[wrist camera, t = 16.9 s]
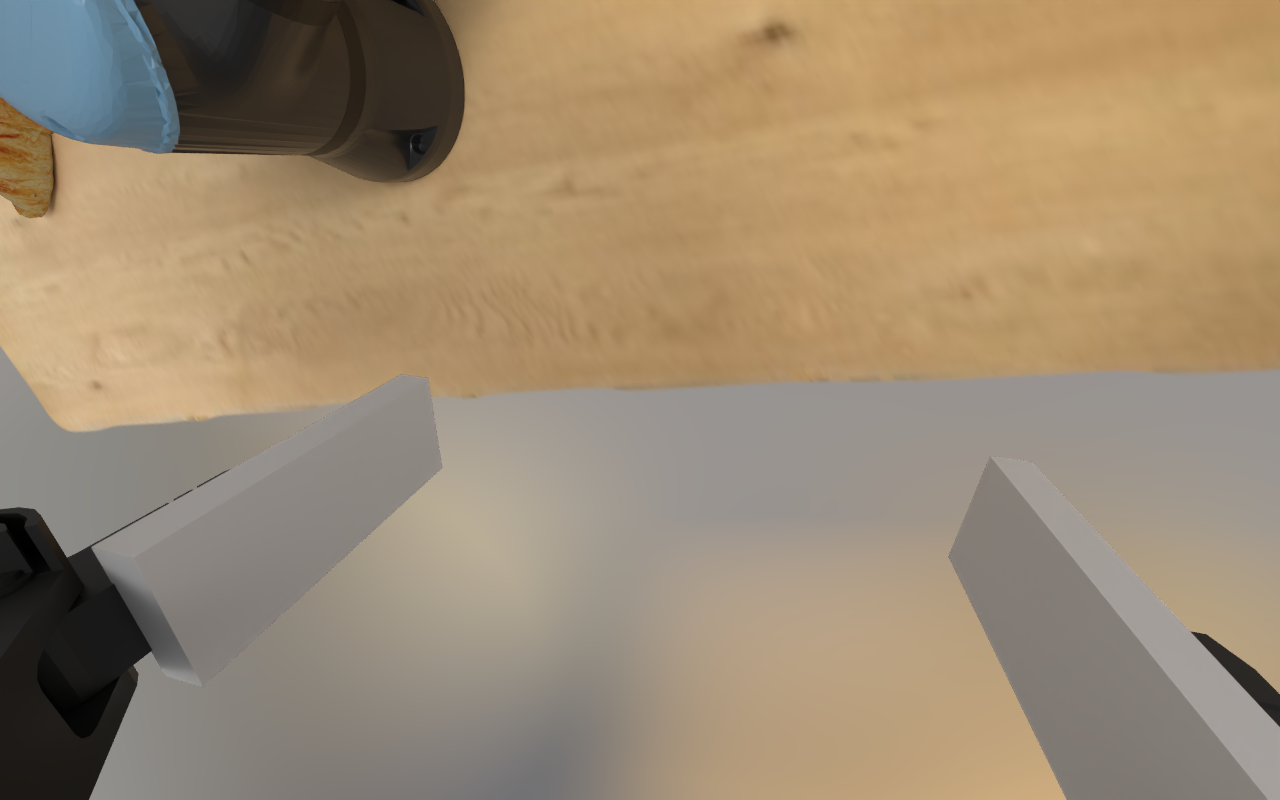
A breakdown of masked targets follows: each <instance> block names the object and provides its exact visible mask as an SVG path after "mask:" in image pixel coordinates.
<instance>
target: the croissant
mask: <svg viewBox="0 0 1280 800" xmlns="http://www.w3.org/2000/svg"><path fill="white" fill-rule="evenodd" d="M51 133H52V132H51V130H49V129H47V128H45V127H43V126H41V125H39V124H38V123H36V122H34V121H33V120H31V119H30V118H28V117H27V116H25V115H24V114H22V113H21V112H19V111H18V110H16V109H15V108H14V107H12V106H11V105H10V104H9V103H7V102H6V101H5V100H4V99H3V98H1V97H0V195H2V196H3V197H4V198H6V199H8V200H10V201H11V202H12V203H13V205H14V207H15V209H16V210H17V212H18V213H19V214H20V215H23V216H25V217H27V218H35V217H42V216H43V215H44V214H45V213H46V212H47V210H48V205H49V204H50V197H51V192H52V190H53V180H54V178H53V175H52V173H53V157H52V143H51V135H50V134H51Z"/></svg>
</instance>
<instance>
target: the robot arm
mask: <svg viewBox="0 0 1280 800" xmlns="http://www.w3.org/2000/svg"><path fill="white" fill-rule="evenodd" d="M0 97H1V98H3V99H4V100H5V101H6V102H7V103H9V104H10V105H11V106H12V107H14V108H15V109H16V110H18V111H19V112H21V113H22V114H24V115H25V116H27V117H28V118H30V119H31V120H33V121H34V122H36V123H38V124H39V125H41V126H43V127H45V128H47V129H49V130H51V131H53V132H55V133H57V134H60V135H62V136H65V137H67V138H70V139H73V140H77V141H81V142H85V143H90V144H98V145H109V146H119V147H129V148H139V149H141V150H144V151H147V152H153V153H156V154H162V153H212V154H258V155H305V156H310V157H313V158H315V159H317V160H319V161H322V162H324V163H326V164H328V165H331V166H333V167H335V168H337V169H340V170H342V171H344V172H346V173H348V174H351V175H353V176H356V177H358V178H362V179H365V180H370V181H375V182H405V181H411V180H415V179H418V178H420V177H423V176H425V175H426V174H428V173H430V172H431V171H433V170H434V169H435V168H436V167H437V166H438V165H439V164H440V163H441V162H442V161H443V160H444V159H445V157H446V156H447V155H448V153H449V151H450V150H451V148H452V146H453V144H454V142H455V140H456V137H457V135H458V132H459V128H460V125H461V120H462V115H463V106H464V82H463V73H462V67H461V62H460V58H459V54H458V50H457V47H456V44H455V41H454V38H453V36H452V33H451V31H450V29H449V27H448V25H447V22H446V20H445V19H444V17H443V15H442V13H441V12H440V10H439V9H438V7H437V5H436V4H435V3H434V1H433V0H0ZM441 468H442V463H441V457H440V451H439V445H438V438H437V431H436V425H435V419H434V413H433V406H432V400H431V394H430V388H429V382H428V378H425V377H418V376H410V375H403V374H401V375H400V376H398V377H396V378H394V379H392V380H391V381H389V382H387V383H385V384H383V385H382V386H380V387H378V388H376V389H374V390H373V391H371V392H369V393H367V394H365V395H364V396H362V397H360V398H358V399H356V400H355V401H353V402H351V403H349V404H347V405H346V406H344V407H342V408H340V409H338V410H337V411H335V412H333V413H332V414H329V415H328V416H326V417H324V418H323V419H320V420H319V421H317V422H315V423H313V424H312V425H310V426H308V427H306V428H304V429H303V430H301V431H299V432H297V433H295V434H293V435H292V436H290V437H288V438H286V439H285V440H283V441H281V442H279V443H277V444H275V445H274V446H272V447H270V448H269V449H267V450H265V451H263V452H261V453H259V454H258V455H256V456H254V457H252V458H250V459H249V460H247V461H245V462H243V463H241V464H239V465H238V466H236V467H234V468H232V469H230V470H227V471H225V472H223V473H221V474H219V475H217V476H215V477H214V478H212V479H210V480H208V481H206V482H204V483H203V484H201V485H199V486H197V488H196V489H194V490H190V491H188V492H186V493H185V494H183V495H181V496H179V497H177V498H176V499H174V501H173V502H171V503H167V504H165V505H163V506H161V507H159V508H157V509H156V510H154V511H152V512H150V513H148V514H147V515H145V516H143V517H141V518H139V519H138V520H136V521H134V522H132V523H130V524H129V525H127V526H125V527H123V528H121V529H120V530H118V531H116V532H114V533H112V534H110V535H109V536H107V537H105V538H103V539H102V540H100V541H98V542H96V543H94V544H92V545H91V546H89V547H87V548H85V549H83V550H82V551H80V552H78V553H76V554H74V555H72V556H70V557H68V558H67V557H66V555H65V554H64V552H63V551H62V549H61V547H60V546H59V544H58V543H57V541H56V539H55V538H54V536H53V535H52V533H51V531H50V530H49V528H48V526H47V525H46V523H45V521H44V520H43V518H42V517H41V515H40V514H39V513H38V512H37V511H36V510H35V509H28V508H19V507H18V508H10V509H0V800H89V798H90V796H91V794H92V791H93V789H94V786H95V784H96V782H97V779H98V777H99V774H100V772H101V770H102V767H103V765H104V763H105V760H106V758H107V755H108V753H109V751H110V748H111V746H112V743H113V741H114V739H115V736H116V734H117V732H118V729H119V727H120V724H121V722H122V720H123V717H124V715H125V713H126V710H127V708H128V705H129V703H130V701H131V698H132V696H133V693H134V691H135V689H136V686H137V681H138V672H137V671H136V669H135V668H134V666H133V665H134V664H135V663H137V662H138V661H139V660H140V659H142V658H143V657H144V656H145V655H147V654H148V653H149V652H152V653H153V655H154V657H155V659H156V660H157V662H158V664H159V665H160V667H161V669H162V670H163V672H164V674H165V676H168V677H171V678H174V679H177V680H181V681H185V682H187V683H191V684H194V685H198V686H201V687H204V686H205V685H206V684H207V683H208V682H209V681H210V680H212V679H213V678H214V677H215V676H216V675H217V674H218V673H219V672H220V671H221V670H222V669H224V667H226V666H227V665H228V664H229V663H230V662H231V661H232V660H233V659H234V658H236V657H237V656H238V655H239V654H240V653H241V652H242V651H243V650H244V649H245V648H246V647H248V646H249V645H250V644H251V643H252V642H253V641H254V640H255V639H256V638H257V637H258V636H260V634H262V633H263V632H264V631H265V630H266V629H267V628H268V627H269V626H270V625H271V624H273V623H274V622H275V621H276V620H277V619H278V618H279V617H280V616H281V615H282V614H283V613H285V612H286V611H287V610H288V609H289V608H290V607H291V606H292V605H293V604H294V603H295V602H296V601H298V600H299V599H300V598H301V597H302V596H303V595H304V594H305V593H306V592H307V591H308V590H310V589H311V588H312V587H313V586H314V585H315V584H316V583H317V582H318V581H319V580H320V579H321V578H322V577H324V576H325V575H326V574H327V573H328V572H329V571H330V570H331V569H332V568H334V566H336V565H337V564H338V563H339V562H340V561H341V560H342V559H343V558H344V557H345V556H347V555H348V554H349V553H350V552H351V551H352V550H353V549H354V548H355V547H356V546H358V545H359V544H360V543H361V542H362V541H363V540H364V539H365V538H366V537H367V536H368V535H370V534H371V533H372V532H373V531H374V530H375V529H376V528H377V527H378V526H379V525H380V524H381V523H382V522H383V521H384V520H386V519H387V518H388V517H389V516H390V515H391V514H392V513H393V512H395V511H396V510H397V509H398V508H399V507H400V506H401V505H402V504H403V503H404V502H405V501H407V500H408V499H409V498H410V497H411V496H412V495H413V494H414V493H415V492H416V491H417V490H419V489H420V488H421V487H422V486H423V485H424V484H425V483H426V482H427V481H428V480H429V479H431V477H433V475H435V474H436V473H437V472H438V471H439V470H440V469H441ZM948 557H949V559H950V561H951V563H952V565H953V567H954V569H955V571H956V573H957V575H958V577H959V579H960V582H961V584H962V586H963V588H964V590H965V592H966V594H967V596H968V598H969V600H970V602H971V604H972V606H973V608H974V610H975V612H976V614H977V617H978V618H979V621H980V623H981V624H982V626H983V629H984V631H985V633H986V635H987V637H988V639H989V641H990V643H991V645H992V647H993V649H994V651H995V653H996V656H997V657H998V660H999V662H1000V664H1001V666H1002V668H1003V670H1004V672H1005V674H1006V676H1007V678H1008V680H1009V682H1010V684H1011V686H1012V688H1013V690H1014V692H1015V695H1016V696H1017V699H1018V701H1019V703H1020V705H1021V707H1022V709H1023V711H1024V713H1025V715H1026V717H1027V719H1028V721H1029V723H1030V725H1031V727H1032V730H1033V732H1034V734H1035V736H1036V738H1037V740H1038V741H1039V744H1040V746H1041V748H1042V750H1043V752H1044V754H1045V756H1046V758H1047V760H1048V762H1049V764H1050V766H1051V769H1052V771H1053V773H1054V774H1055V777H1056V779H1057V781H1058V783H1059V785H1060V787H1061V789H1062V791H1063V793H1064V795H1065V797H1066V799H1067V800H1280V694H1279V693H1278V692H1277V691H1276V690H1275V689H1274V688H1273V687H1272V686H1271V685H1270V684H1269V683H1268V682H1267V681H1266V680H1265V679H1264V678H1263V677H1262V676H1261V675H1260V674H1259V673H1258V672H1257V671H1256V670H1255V669H1254V668H1252V667H1251V666H1249V665H1248V664H1246V663H1245V662H1244V661H1242V660H1241V659H1240V658H1238V657H1237V656H1236V655H1234V654H1233V653H1231V652H1230V651H1229V650H1227V649H1226V648H1224V647H1223V646H1222V645H1220V644H1219V643H1217V642H1216V641H1214V640H1213V639H1212V638H1211V637H1209V636H1208V635H1206V634H1201V633H1196V632H1191V631H1189V630H1188V629H1187V628H1186V627H1185V626H1184V624H1183V623H1182V622H1181V621H1180V620H1179V619H1178V618H1177V617H1176V616H1175V615H1174V614H1173V613H1172V612H1171V611H1170V609H1169V608H1168V607H1167V606H1166V605H1165V604H1164V603H1163V602H1162V601H1161V600H1160V599H1159V598H1158V597H1157V595H1156V594H1155V593H1154V592H1153V591H1152V590H1151V589H1150V588H1149V587H1148V586H1147V585H1146V584H1145V583H1144V582H1143V581H1142V580H1141V578H1140V577H1139V576H1138V575H1137V574H1136V573H1135V572H1134V571H1133V570H1132V569H1131V568H1130V567H1129V566H1128V565H1127V563H1126V562H1125V561H1124V560H1123V559H1122V558H1121V557H1120V556H1119V555H1118V554H1117V553H1116V552H1115V551H1114V550H1113V548H1112V547H1111V546H1110V545H1109V544H1108V543H1107V542H1106V541H1105V540H1104V539H1103V538H1102V537H1101V536H1100V535H1099V534H1098V532H1096V530H1095V529H1094V528H1093V527H1092V526H1091V525H1090V524H1089V523H1088V522H1087V521H1086V520H1085V519H1084V518H1083V516H1082V515H1081V514H1080V513H1079V512H1078V511H1077V510H1076V509H1075V508H1074V507H1073V506H1072V505H1071V504H1070V503H1069V502H1068V500H1067V499H1066V498H1065V497H1064V496H1063V495H1062V494H1061V493H1060V492H1059V491H1058V490H1057V489H1056V488H1055V487H1054V485H1053V484H1052V483H1051V482H1050V481H1049V480H1048V479H1047V478H1046V477H1045V476H1044V475H1043V474H1042V473H1041V472H1040V471H1039V469H1038V468H1037V467H1036V466H1035V465H1034V464H1033V463H1032V462H1030V461H1022V460H1016V459H1008V458H1001V457H994V456H990V457H989V460H988V462H987V464H986V467H985V469H984V472H983V474H982V476H981V479H980V481H979V484H978V486H977V489H976V491H975V494H974V496H973V498H972V501H971V503H970V505H969V508H968V510H967V513H966V515H965V518H964V520H963V523H962V525H961V527H960V530H959V532H958V534H957V537H956V539H955V542H954V544H953V547H952V549H951V552H950V554H949V556H948Z"/></svg>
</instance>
